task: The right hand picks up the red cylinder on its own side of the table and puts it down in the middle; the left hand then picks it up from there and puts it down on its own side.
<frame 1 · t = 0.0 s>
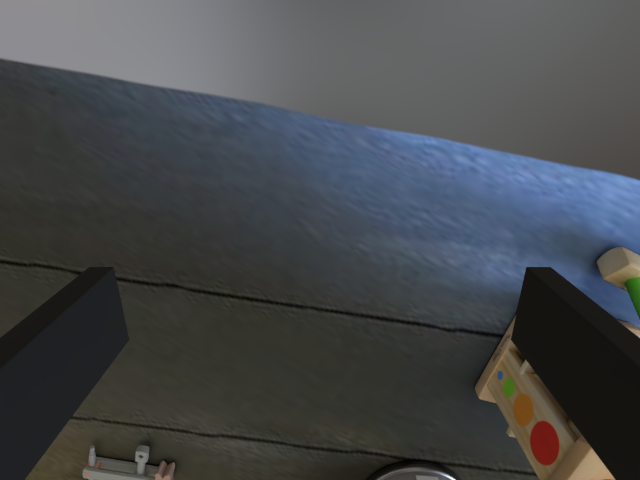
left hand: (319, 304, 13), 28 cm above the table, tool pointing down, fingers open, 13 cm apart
pounding bench toy: (567, 329, 46), on the table
clamp: (120, 462, 54), on the table
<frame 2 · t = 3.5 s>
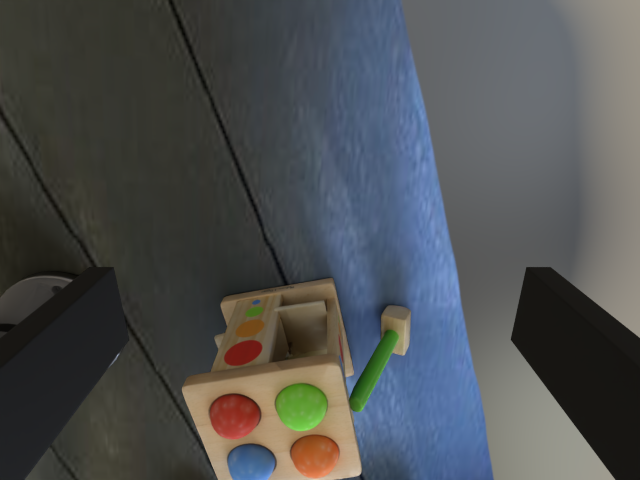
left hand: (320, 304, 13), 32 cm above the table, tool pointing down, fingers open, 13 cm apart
pounding bench toy: (321, 327, 51), on the table
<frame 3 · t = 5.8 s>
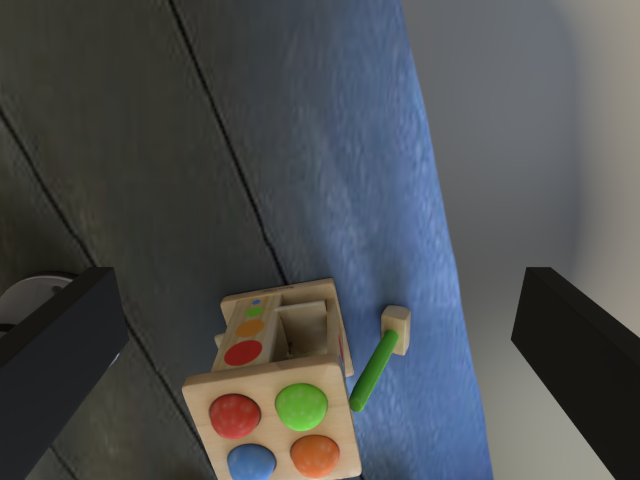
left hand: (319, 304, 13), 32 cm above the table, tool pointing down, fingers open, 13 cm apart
pounding bench toy: (321, 327, 51), on the table
when the right hand's fingers open (5 cm above the table, at t = 8.4 s): red cylinder drops 2 cm, on the table.
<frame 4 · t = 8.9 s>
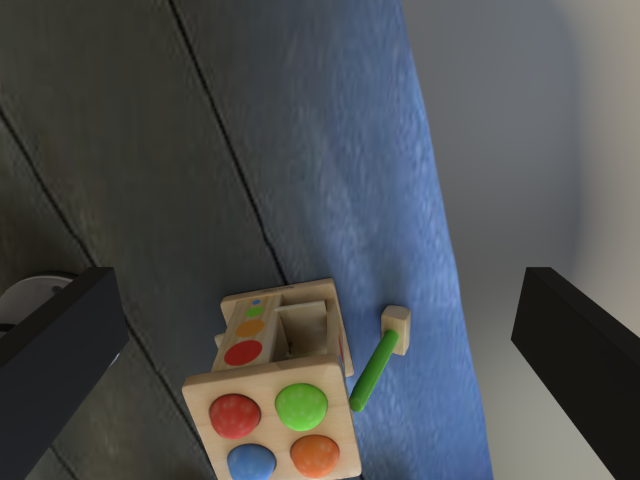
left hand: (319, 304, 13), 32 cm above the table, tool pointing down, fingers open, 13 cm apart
pounding bench toy: (321, 327, 51), on the table
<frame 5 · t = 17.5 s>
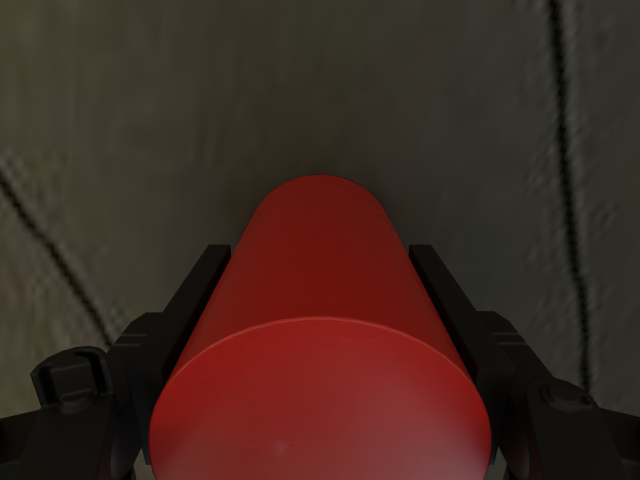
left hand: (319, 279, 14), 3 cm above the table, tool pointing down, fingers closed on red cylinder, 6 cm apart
red cylinder: (320, 247, 17), on the table, touching left hand
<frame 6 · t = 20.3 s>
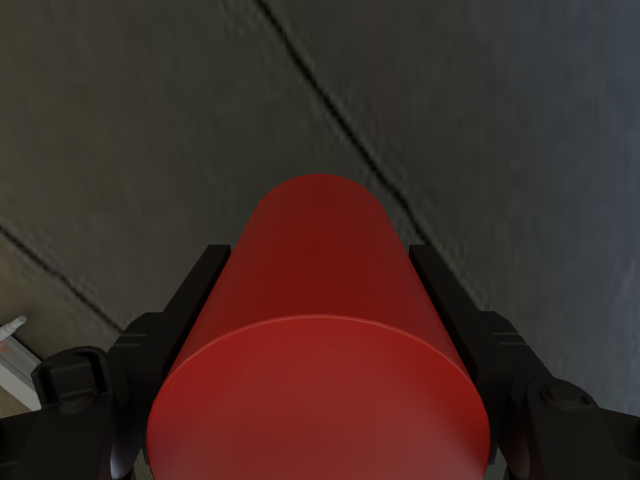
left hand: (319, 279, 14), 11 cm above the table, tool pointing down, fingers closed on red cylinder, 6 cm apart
red cylinder: (319, 246, 17), point 8 cm above the table, touching left hand
clamp: (35, 362, 30), on the table
when the left hand's fingers open (5 cm above the table, at t = 23.2 s): red cylinder drops 2 cm, on the table.
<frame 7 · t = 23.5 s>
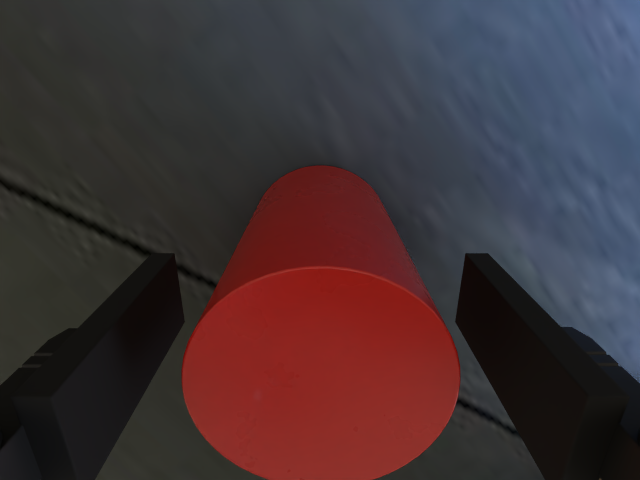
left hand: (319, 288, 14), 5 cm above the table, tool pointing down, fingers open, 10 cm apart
red cylinder: (320, 231, 19), on the table
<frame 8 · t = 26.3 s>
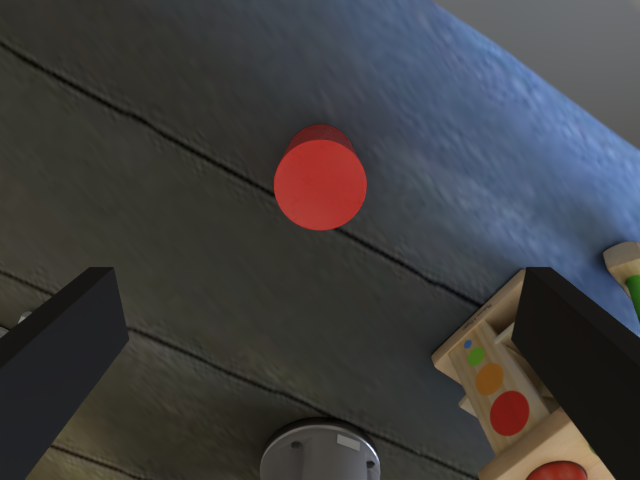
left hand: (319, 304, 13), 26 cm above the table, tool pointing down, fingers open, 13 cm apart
red cylinder: (320, 159, 37), on the table
pounding bench toy: (545, 319, 43), on the table
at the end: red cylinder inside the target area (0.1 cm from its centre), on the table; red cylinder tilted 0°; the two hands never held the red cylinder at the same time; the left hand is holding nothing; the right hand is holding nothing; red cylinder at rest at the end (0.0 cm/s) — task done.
